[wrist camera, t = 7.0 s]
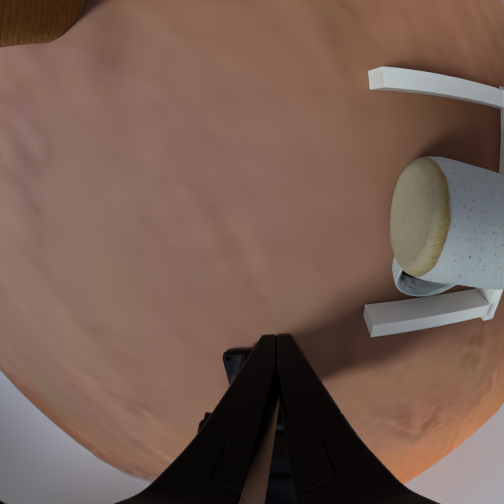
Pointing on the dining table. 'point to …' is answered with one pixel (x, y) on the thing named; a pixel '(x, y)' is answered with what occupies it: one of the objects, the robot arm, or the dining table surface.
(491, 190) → the ceramic mug
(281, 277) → the dining table surface
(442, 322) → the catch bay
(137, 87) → the dining table surface
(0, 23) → the disposable coffee cup
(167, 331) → the dining table surface
